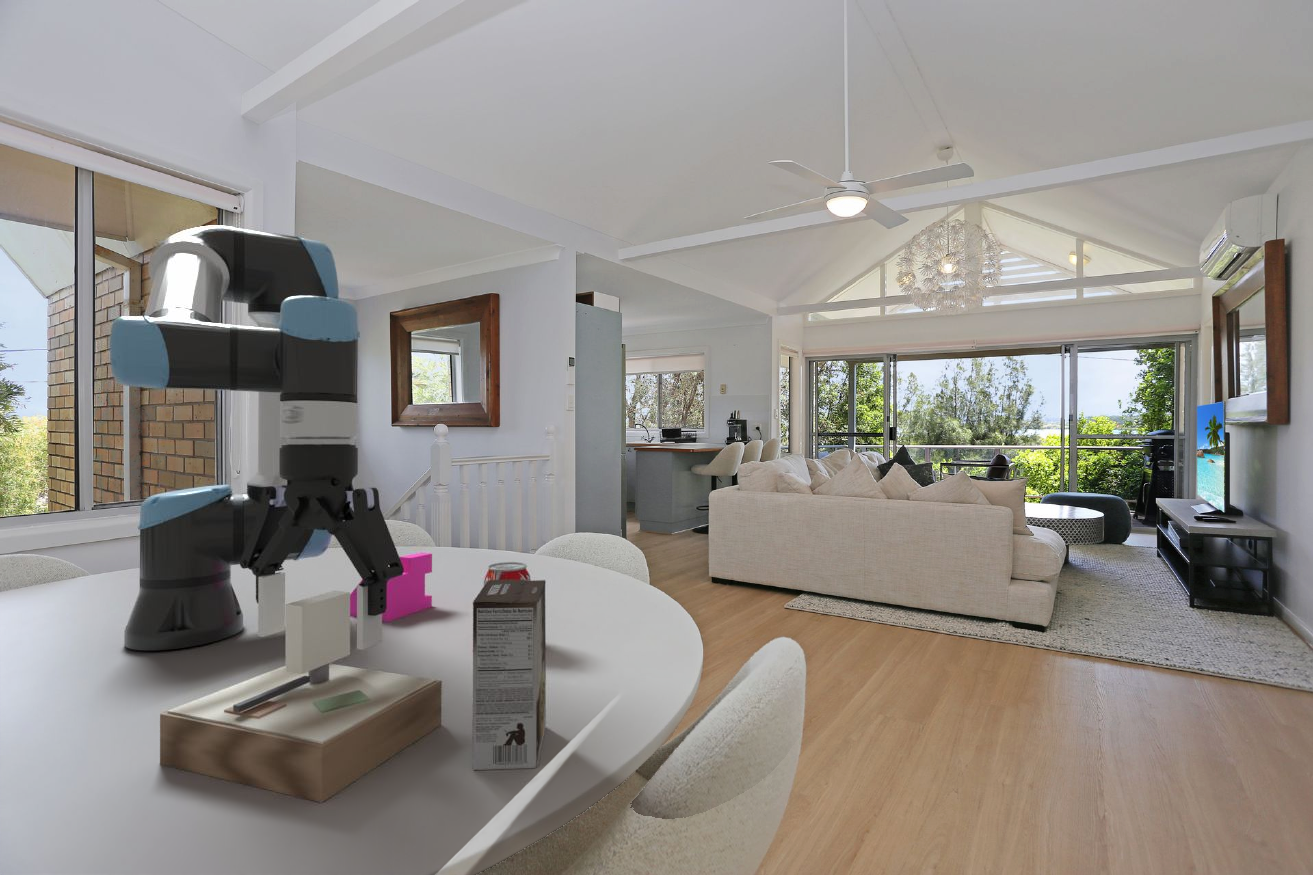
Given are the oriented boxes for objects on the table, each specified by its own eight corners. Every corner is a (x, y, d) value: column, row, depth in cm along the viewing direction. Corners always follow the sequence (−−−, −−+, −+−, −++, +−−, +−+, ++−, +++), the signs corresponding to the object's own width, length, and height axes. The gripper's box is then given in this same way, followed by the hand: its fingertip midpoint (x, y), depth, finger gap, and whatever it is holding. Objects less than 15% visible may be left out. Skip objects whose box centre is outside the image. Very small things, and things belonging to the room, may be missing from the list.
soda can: (519, 653, 93) (519, 571, 93) (474, 650, 95) (474, 569, 95) (537, 639, 100) (538, 562, 100) (495, 636, 102) (496, 560, 102)
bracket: (431, 609, 118) (432, 553, 118) (386, 623, 109) (387, 563, 109) (384, 602, 123) (384, 548, 123) (337, 615, 114) (337, 557, 114)
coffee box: (486, 728, 69) (487, 578, 69) (547, 726, 70) (547, 577, 70) (469, 772, 60) (470, 600, 60) (539, 769, 61) (539, 598, 61)
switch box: (159, 763, 62) (160, 709, 62) (301, 699, 77) (301, 656, 77) (321, 802, 55) (322, 741, 55) (441, 724, 70) (441, 676, 70)
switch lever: (227, 713, 61) (227, 620, 61) (334, 668, 73) (334, 590, 73) (244, 716, 60) (244, 622, 60) (349, 670, 72) (350, 592, 72)
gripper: (202, 442, 70) (201, 637, 70) (388, 442, 62) (387, 663, 62) (264, 442, 77) (264, 619, 77) (438, 442, 69) (438, 640, 69)
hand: (319, 639), depth 69 cm, fingers open, 13 cm apart
